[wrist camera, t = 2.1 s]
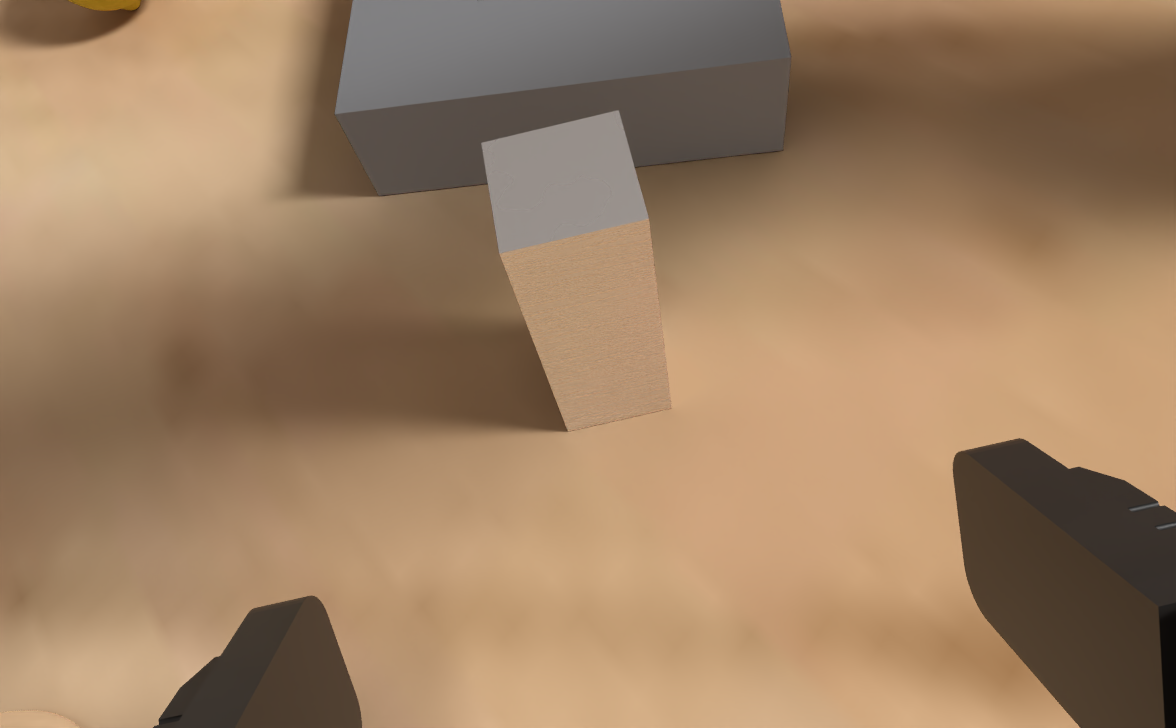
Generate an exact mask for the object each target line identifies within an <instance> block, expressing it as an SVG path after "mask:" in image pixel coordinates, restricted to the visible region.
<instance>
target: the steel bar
mask: <svg viewBox="0 0 1176 728" xmlns="http://www.w3.org/2000/svg"><path fill="white" fill-rule="evenodd" d="M481 144H482V150H483V157H484V163H485V169H486V175H487V181H488V187H489V194H490V200H491V206H492V212H493V218H494V224H495V230H496V237H497V243H498V249H499V254H500V257H501V259H502V262H503V265H504V267H505V270H506V272H507V275H508V278H509V280H510V283H511V285H512V288H513V291H514V293H515V296H516V298H517V301H518V303H519V306H520V309H521V311H522V314H523V316H524V319H525V322H526V324H527V327H528V329H529V332H530V335H531V337H532V340H533V342H534V345H535V347H536V350H537V353H538V355H539V358H540V360H541V363H542V366H543V368H544V371H545V373H546V376H547V378H548V381H549V384H550V386H551V389H552V391H553V394H554V397H555V399H556V402H557V404H558V407H559V410H560V412H561V415H562V417H563V420H564V422H565V425H566V428H567V430H568V432H569V431H573V430H578V429H582V428H586V427H591V426H595V425H600V424H604V423H608V422H613V421H617V420H622V419H626V418H630V417H635V416H639V415H644V414H648V413H652V412H657V411H661V410H666V409H670V408H672V407H671V399H670V390H669V382H668V374H667V365H666V357H665V349H664V340H663V332H662V323H661V315H660V307H659V298H658V290H657V282H656V273H655V265H654V256H653V248H652V240H651V231H650V223H649V217H648V213H647V210H646V206H645V203H644V199H643V196H642V192H641V188H640V185H639V181H638V178H637V174H636V170H635V167H634V163H633V160H632V156H631V153H630V149H629V145H628V142H627V138H626V135H625V131H624V128H623V124H622V120H621V117H620V113H619V110H617V111H613V112H609V113H604V114H600V115H596V116H592V117H588V118H583V119H579V120H575V121H571V122H567V123H562V124H558V125H554V126H550V127H546V128H542V129H537V130H533V131H529V132H525V133H521V134H516V135H512V136H508V137H504V138H500V139H495V140H491V141H487V142H483V143H481Z"/></svg>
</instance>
